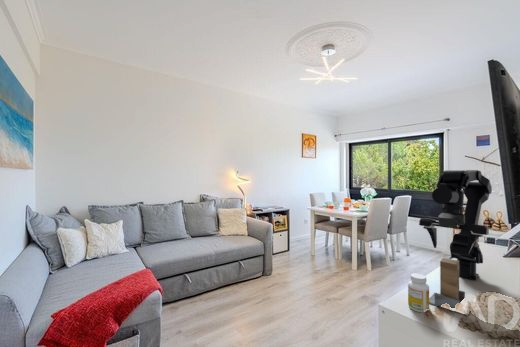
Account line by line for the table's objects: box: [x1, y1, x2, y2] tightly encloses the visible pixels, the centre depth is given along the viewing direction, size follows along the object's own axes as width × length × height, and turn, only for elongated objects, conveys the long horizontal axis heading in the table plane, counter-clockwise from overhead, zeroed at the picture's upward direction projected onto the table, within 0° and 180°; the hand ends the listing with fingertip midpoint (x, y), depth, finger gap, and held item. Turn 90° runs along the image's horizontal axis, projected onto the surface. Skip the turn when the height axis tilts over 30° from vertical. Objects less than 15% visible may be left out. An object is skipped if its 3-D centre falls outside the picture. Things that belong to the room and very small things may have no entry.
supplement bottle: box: [407, 272, 430, 313], centre depth 76 cm, size 5×5×10 cm
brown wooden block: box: [439, 257, 460, 299], centre depth 78 cm, size 4×4×13 cm
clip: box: [429, 289, 466, 308], centre depth 78 cm, size 8×10×4 cm
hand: (450, 250), depth 88 cm, fingers open, 9 cm apart
